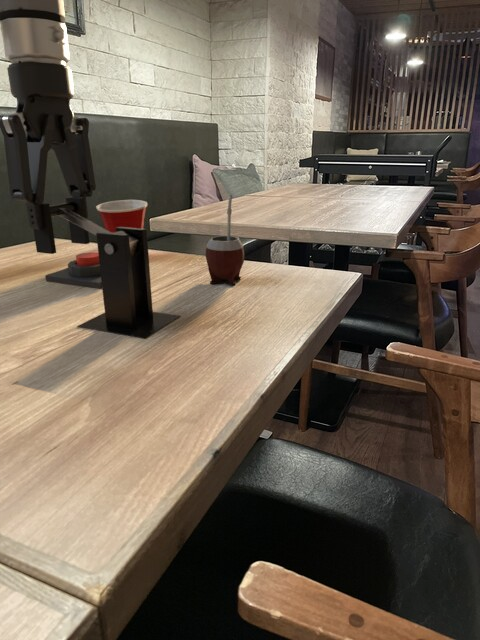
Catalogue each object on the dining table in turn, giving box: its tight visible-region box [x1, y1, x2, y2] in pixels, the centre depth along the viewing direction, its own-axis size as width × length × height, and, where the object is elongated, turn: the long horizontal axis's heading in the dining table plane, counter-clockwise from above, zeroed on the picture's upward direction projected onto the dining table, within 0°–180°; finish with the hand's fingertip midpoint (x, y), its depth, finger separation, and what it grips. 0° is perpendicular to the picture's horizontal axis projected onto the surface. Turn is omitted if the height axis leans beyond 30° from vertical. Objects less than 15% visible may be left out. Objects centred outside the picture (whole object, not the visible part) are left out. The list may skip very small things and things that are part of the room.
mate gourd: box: [205, 194, 246, 287], centre depth 89 cm, size 8×8×15 cm
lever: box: [50, 202, 138, 256], centre depth 66 cm, size 13×6×2 cm, turn 66°
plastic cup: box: [95, 199, 148, 233], centre depth 107 cm, size 11×11×12 cm
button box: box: [44, 259, 102, 290], centre depth 90 cm, size 12×10×4 cm
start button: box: [75, 251, 100, 266], centre depth 89 cm, size 4×4×2 cm
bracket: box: [76, 227, 181, 340], centre depth 67 cm, size 11×9×14 cm
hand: (64, 247), depth 69 cm, fingers closed on lever, 6 cm apart
